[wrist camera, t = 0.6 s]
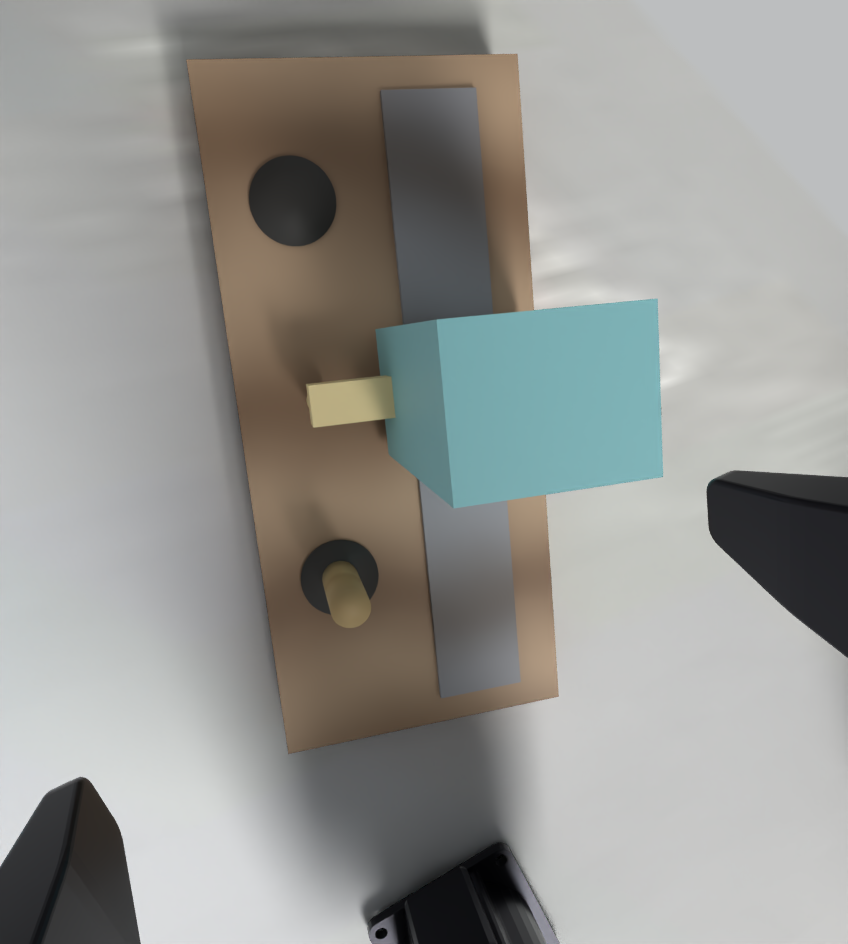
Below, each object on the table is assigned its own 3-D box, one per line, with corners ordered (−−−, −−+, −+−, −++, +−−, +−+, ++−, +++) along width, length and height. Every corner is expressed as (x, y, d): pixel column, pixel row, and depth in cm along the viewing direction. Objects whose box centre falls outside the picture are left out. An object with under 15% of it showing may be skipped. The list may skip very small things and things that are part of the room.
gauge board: (538, 673, 28) (594, 739, 24) (286, 724, 26) (292, 808, 22) (496, 77, 24) (555, 10, 19) (192, 84, 22) (174, 11, 17)
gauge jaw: (533, 435, 24) (662, 476, 16) (314, 464, 22) (342, 525, 15) (525, 314, 23) (657, 298, 16) (298, 336, 22) (319, 330, 14)
